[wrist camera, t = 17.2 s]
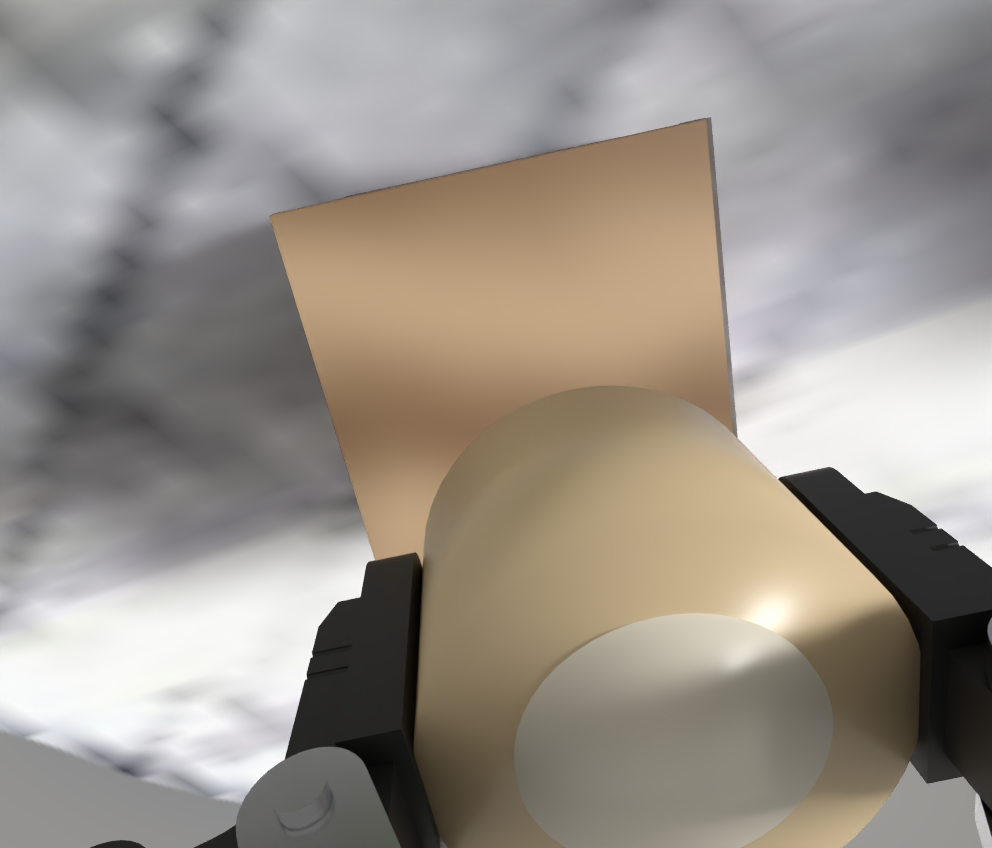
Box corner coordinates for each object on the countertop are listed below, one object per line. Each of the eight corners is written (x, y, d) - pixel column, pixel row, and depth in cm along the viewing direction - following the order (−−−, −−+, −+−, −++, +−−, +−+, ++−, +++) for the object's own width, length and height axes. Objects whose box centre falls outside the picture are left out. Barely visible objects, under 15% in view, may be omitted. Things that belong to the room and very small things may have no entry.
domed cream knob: (385, 428, 10) (352, 591, 7) (758, 351, 10) (940, 470, 7) (464, 717, 12) (472, 970, 9) (777, 653, 12) (924, 879, 9)
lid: (275, 212, 16) (269, 216, 15) (703, 118, 17) (721, 116, 16) (404, 638, 20) (406, 660, 19) (740, 548, 21) (756, 565, 20)
